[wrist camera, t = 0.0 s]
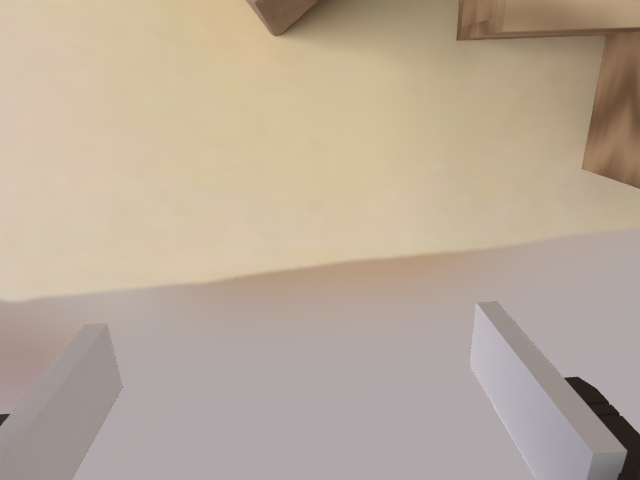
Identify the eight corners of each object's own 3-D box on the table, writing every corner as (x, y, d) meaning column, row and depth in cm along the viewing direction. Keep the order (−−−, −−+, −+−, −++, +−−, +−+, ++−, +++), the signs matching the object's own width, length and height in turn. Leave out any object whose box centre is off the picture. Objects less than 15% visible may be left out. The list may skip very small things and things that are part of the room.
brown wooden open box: (468, -130, 34) (552, -227, 23) (711, -135, 34) (908, -233, 23) (447, 175, 43) (499, 211, 31) (641, 165, 43) (760, 198, 32)
